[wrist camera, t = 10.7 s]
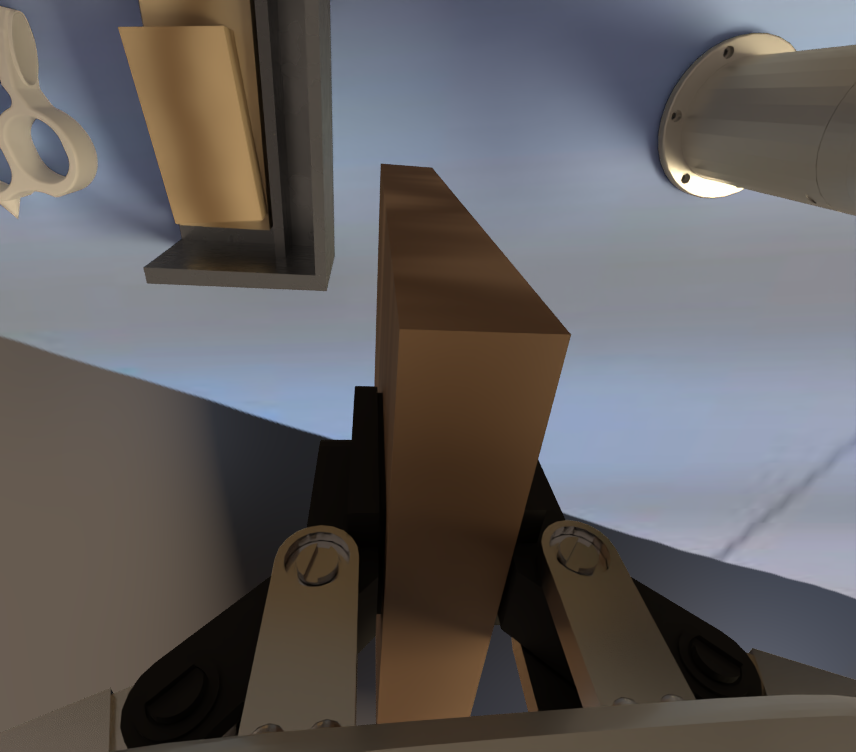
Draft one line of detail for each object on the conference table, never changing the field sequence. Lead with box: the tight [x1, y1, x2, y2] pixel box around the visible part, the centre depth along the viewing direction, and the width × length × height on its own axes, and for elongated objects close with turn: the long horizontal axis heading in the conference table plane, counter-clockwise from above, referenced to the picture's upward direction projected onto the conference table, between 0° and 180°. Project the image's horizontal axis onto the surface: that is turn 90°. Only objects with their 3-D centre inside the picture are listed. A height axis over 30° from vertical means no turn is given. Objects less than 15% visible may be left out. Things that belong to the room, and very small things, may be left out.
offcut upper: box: [118, 26, 268, 224], centre depth 33 cm, size 6×12×2 cm, turn 1°
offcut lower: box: [139, 0, 273, 230], centre depth 35 cm, size 7×16×2 cm, turn 175°
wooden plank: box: [375, 164, 571, 724], centre depth 14 cm, size 2×10×15 cm, turn 175°
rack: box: [138, 0, 335, 291], centre depth 33 cm, size 13×22×9 cm, turn 175°
